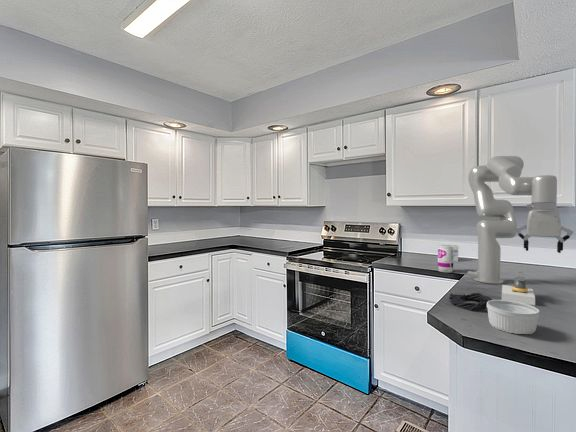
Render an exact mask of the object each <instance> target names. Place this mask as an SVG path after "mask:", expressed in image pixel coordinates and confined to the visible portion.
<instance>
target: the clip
mask: <svg viewBox="0 0 576 432" xmlns="http://www.w3.org/2000/svg"><path fill="white" fill-rule="evenodd" d="M515 275H516V278H517V280H520V281H524V279H525V275H524V272H523V271H516V272H515Z"/></svg>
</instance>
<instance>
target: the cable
mask: <svg viewBox="0 0 576 432" xmlns="http://www.w3.org/2000/svg"><path fill="white" fill-rule="evenodd" d="M448 299H449V302H450V304H453V305H455V306H456V307H459V308H462V309H465V310H468V311H480V312H481V311H485V310H488V308H487V302H488V301H491V300H493V299H492V298H491V297H490V296H488V295H484V294H482V293H479V292H472V293H470V294H469V293H467V294H454V293H450V294H449V296H448ZM465 300H469V301H479V302H477V303H474V302H465Z"/></svg>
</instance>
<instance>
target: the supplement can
mask: <svg viewBox="0 0 576 432" xmlns="http://www.w3.org/2000/svg"><path fill="white" fill-rule="evenodd" d="M447 245H448V244H440V245H439V246H437V247H438V248H437V270H438V272H440V273H448V274H449V273H452V272H454V261H453V252H454V249H453V247H452V246H447Z"/></svg>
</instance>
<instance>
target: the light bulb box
mask: <svg viewBox="0 0 576 432" xmlns="http://www.w3.org/2000/svg"><path fill="white" fill-rule="evenodd" d="M446 245H447V246H452V247H453V249H454V252H453V262H459V246H458V245H457V244H454V245H452V244H446Z"/></svg>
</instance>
